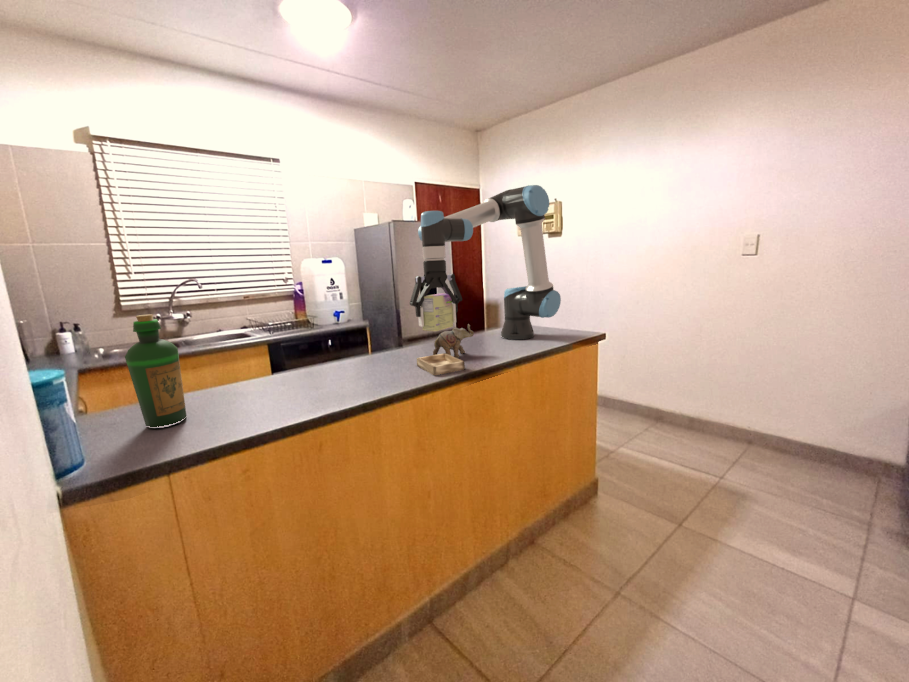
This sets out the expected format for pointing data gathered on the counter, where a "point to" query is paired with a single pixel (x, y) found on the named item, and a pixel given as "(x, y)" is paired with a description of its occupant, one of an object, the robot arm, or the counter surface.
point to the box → (437, 312)
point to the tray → (440, 364)
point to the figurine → (452, 341)
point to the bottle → (156, 374)
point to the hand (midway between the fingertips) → (437, 324)
